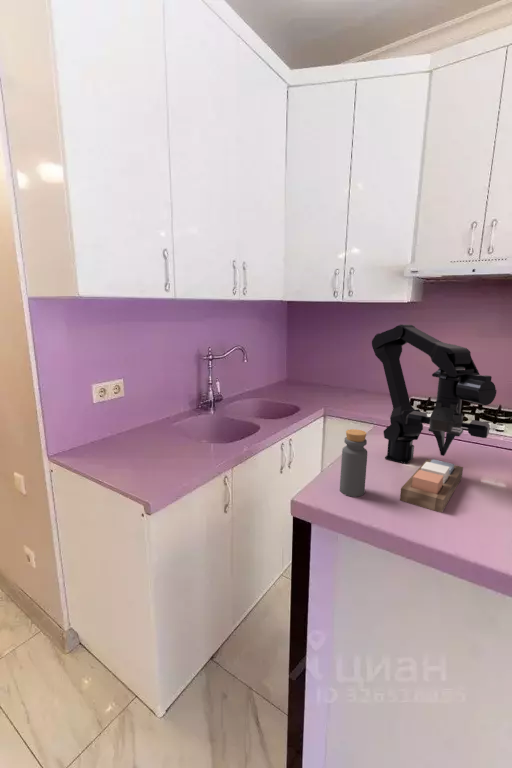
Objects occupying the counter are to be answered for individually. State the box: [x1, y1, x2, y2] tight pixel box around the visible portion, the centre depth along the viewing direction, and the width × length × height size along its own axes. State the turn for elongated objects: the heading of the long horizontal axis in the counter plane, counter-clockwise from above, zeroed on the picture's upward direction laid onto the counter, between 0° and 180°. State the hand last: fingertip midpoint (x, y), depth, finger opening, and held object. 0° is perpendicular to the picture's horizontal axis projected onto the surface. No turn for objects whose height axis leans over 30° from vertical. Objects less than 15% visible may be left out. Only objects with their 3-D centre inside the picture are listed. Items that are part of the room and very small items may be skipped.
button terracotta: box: [412, 470, 443, 495], centre depth 89 cm, size 5×5×4 cm
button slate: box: [430, 459, 455, 475], centre depth 100 cm, size 5×5×4 cm
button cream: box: [421, 462, 450, 484], centre depth 94 cm, size 5×5×4 cm
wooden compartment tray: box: [399, 458, 464, 514], centre depth 94 cm, size 9×24×3 cm, turn 143°
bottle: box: [339, 428, 368, 498], centre depth 91 cm, size 6×6×15 cm
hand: (442, 455), depth 99 cm, fingers closed
